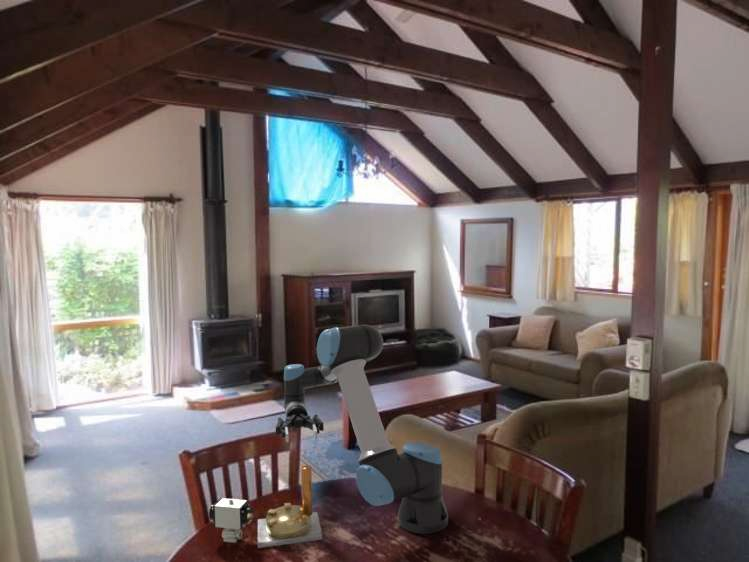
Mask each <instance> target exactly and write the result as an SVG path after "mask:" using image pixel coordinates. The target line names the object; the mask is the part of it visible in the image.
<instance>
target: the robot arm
mask: <svg viewBox="0 0 749 562" xmlns="http://www.w3.org/2000/svg"><path fill="white" fill-rule="evenodd" d="M383 348H384V338H383V336H382V334H381V332H380V331H379V330H378V329H377V328H376V327H374V326H372V325H369V324H358V325H348V326H340V327H339V326H338V327H337V326H335V327H332V328H328V329H327V328H326V329H324V330H323V331H322V332H321V333H320V334H319V337H318V340H317V344H316V354H317V359H318V362H319V364H320V365H318V366H313V367H306V368H305V366H304V365H303V364H300V363H296V364H295V363H294V364H293V363H292V364H288V365H286V366H285V367H284V371H283V384H284V385H283V386H284V388H283V389H284V395H283V396H284V397H283V398H284V402H283V405H284V406H283V407H284V411H285V419H284V418H282V417H278V418H277V424H276V425H275V435H277V436H279V435H280V434H281V438H285V443H289V439H290V438H289V432H290V430H293V429H301V428H307V429H308V430H311V431H312V435H313V437H314V440H315V441H317V440H318V435H319V434H321V433H320V431H321V432H323V431H324V425H325V424H324V422H323V421H322V420H321V419H320V418H319V417H318V414H314V415H313V416H312V417H311V416H310V415H308V411H307V408H306V397H305V392H306V391H305V390H307V389H312V388H317V387H321V386H328V385H333V384H336V383H338V384H339V388H340V391H341V394H342V397H343V400H344V403H345V407H346V409H347V412H348V415H349V418H350V422H351V426H352V428H353V431H354V435H355V437H356V441H357V444H358V446H359V449H360V457H359V459H358V465H359V467H358V468H357V469H356V471H355V472H356V473H355V481H356V482H355V483H356V486H357V489H358V491H359V492H360V495H361V496H362V498H364V500H365V501H366V502H367V503H369V504H370V505H372V506H375V507H381V506H384V505H389V504H392V503H393V502H396V501H399V500H401V499H402V500H401V501H400V506H399V509H398V512H397V519H398V520H397V522H398V524H399V526H400V527H401V528H402V529H404V530H406V531H407V532H410V533H414V534H420V535H430V534H431V535H432V534H435V532H436V533H439V532H441V531H443V530H444V529H446V527H447V526H448V525H449V513H448V510H447V507H446V503H445V501H444V498H443V461H442V452H441V450H440V449H439V448H438V447H436V446H435V445H432V444H430V443H429V444H428V443H424V442H409V443H405V444H403V447H402V449H401V450H402V452H401V453H400V454H399V453H398V450H397V447H396V446H394V445H392V444H391V443H390V441H389V440H388V437H387V434H386V431H385V427H384V425H383V422H382V420H381V416H380V414H379V413H380V412H379V410H378V407H377V405H376V402H375V398H374V396H373V392H372V390H371V387H370V384H369V381H368V379H367V376H366V373H365V370H364V368H365V365H366V363H368V362H371V361H372V360H374V359H376V358H377V357H378V356H379V355H380V354H381V352H382V351H383Z"/></svg>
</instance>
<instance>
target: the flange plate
mask: <svg viewBox="0 0 749 562" xmlns="http://www.w3.org/2000/svg"><path fill="white" fill-rule="evenodd" d="M320 540H323V533H322V528H321V523H320V519H319V514H318V512H317V511H314V512H313V514H312V515H311V527H310V529H309V530H308V531H307V532H305V533H304V534H302V535H300V536H297V537H293V538H277V537H274V536H271V535H270V534H269V533H268V532H267V529H266V518H258V519H257V549H262V548H263V549H264V548H268V547H276V546H282V545H289V544H290V545H292V544H299V543H306V542H311V541H320Z"/></svg>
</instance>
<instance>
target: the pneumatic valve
mask: <svg viewBox="0 0 749 562" xmlns="http://www.w3.org/2000/svg"><path fill="white" fill-rule="evenodd" d="M254 513H255V511H254V508H253V507H252V506H251V504H250V501H249V500H246V499H240V498H237V499H236V498H224V497H220V498H219V499H218V500H216V502H215V503H213V504H212V505H210V508H209V511H208V518H209V520H210V521H212V523H213V528H222V529H223V530H222V533H221V537H222V539H223V542H224V543H231V544H235V543H237V542H238V540H239V541H240V540H241V539H242V536H243V531H242V530H244V529H245V528H246V526H247V525H248V524H249V525H250V524H251V523H252V521H253V519H254Z"/></svg>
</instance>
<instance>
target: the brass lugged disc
mask: <svg viewBox="0 0 749 562" xmlns="http://www.w3.org/2000/svg"><path fill="white" fill-rule="evenodd" d="M300 469H301V470H300V471H301V473H300V474H301V505H295V504H294V505H293V504H291V502H284V503H283V504H284V505H283V506H279V507H277V508H275V509H272V508H270V509H269V510H268V511H267V515H266V529H267V532H268V533H269V534H270V535H271V536H274V537H277V538H293V537H297V536H300V535H302V534H304V533H305V532H307V531H308V530H309V529H310V527H311V515H312V514H313V484H312V483H313V478H312V477H313V475H312V474H313V472H312V470H313V469H312V466H311V465H303V466H302V467H300Z"/></svg>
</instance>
